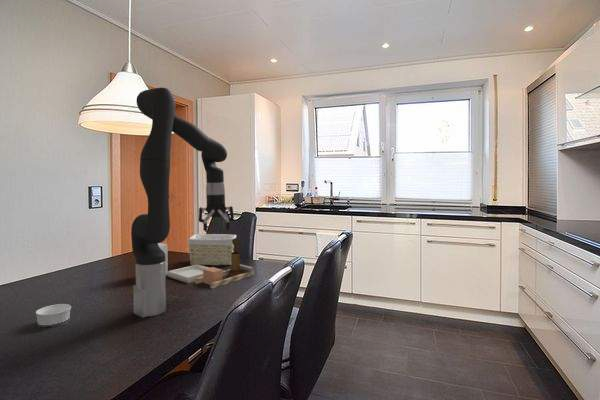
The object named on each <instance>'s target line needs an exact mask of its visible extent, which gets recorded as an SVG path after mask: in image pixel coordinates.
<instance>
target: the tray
mask: <svg viewBox="0 0 600 400" xmlns="http://www.w3.org/2000/svg"><path fill="white" fill-rule="evenodd" d="M207 268H210V267H208V266H206V265H188V266H185V267H180V268H177V269H171V270H168V275H167V277H168V278H170V279H171V278H172V279H174V280H176V281H177V280H178V281H180V282H184V283H186V284H190V283H193V282H194V283H195V279H196V278H200V277H203V269H207Z"/></svg>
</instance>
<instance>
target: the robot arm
mask: <svg viewBox="0 0 600 400" xmlns="http://www.w3.org/2000/svg"><path fill="white" fill-rule="evenodd" d="M175 99H176V98H175V96H174V93H173V92H172V91H171V90H170V89H168V88H166V87H155V88H149V89H146V90H142V91H141V92H139V93H138V95H137V97H136V106H137V108H138V110H139V111H140V112H141V113H142V115H144V116H145V117H147V118H149V119H151V120H152V122H151V130H150V133H149V135H148V137H147V139H146V141H145V143H144V145H143V147H142V150H141V153H140V159H139V160H140V161H139V177H140V181H141V184H142V186H143V189H144V191H145V194H146V198H147V213H142V214H140V215H138V216H137V217H135V218H134V220H133V221H132V224H131V229H130V231H131V232H130V233H131V234H130V235H131V236H130V237H131V248H132V254H133V257H134V259H135V284H133V287H132V290H133V297H132V299H133V314H134V315H136V316H138V317H141V318H142V319H143V318H146V317H147V318H148V317H154V316H155V317H156V316H158V315H159V316H160V315H161V314H163V313H165V312H166V310H167V292H166V291H167V288H166V287H167V286H166V285H167V283H166V276H167V275H166V266H165V253H164V252H163V251H162V250H161V249H160V247H159V246H158V243H161V244H162V243H163V242H164V241H166V239H167V238H168V236H169V234H170V229H171V217H170V204H169V203H170V202H169V199H170V195H169V194H170V174H171V173H170V172H171V147H172V135H173V133H174V134H175V135H176V136H178V137H179V138H181V139H182V140H183V141H185V142H186V143H187V144H188V145H189V146H191V147H192V148H194V150H196V151H198V152H201V154H200V155H201V160H202V163H203V167H204V170H205V174H206V175H205V176H206V177H205V178H206V179H205V180H206V186H205V194H206V196H205V198H206V206H205V207H201V206H200V207H199V208H198V222H199V223H202V224H203V231H204V232H205V233H208V221H209V219H210V218H221V217H222V219H224V220H225V232H228V231H229V230H230V229H231V228H230V227H231V226H230V222H232V221H234V220H235V219H234V207H233V206H232V205H231V206H226V191H225V190H226V189H225V181H224V180H225V178H224V174H225V173H224V170H223V169H222V168H220V167H218V166H217V164H216V163H222V162H224V161H225V160H226V159H228V158H227V157H228V152H227V149H226V147H225V146H224V145H223V144H221V143H220V142H218V141H217V140H215V139H213V138H211V137H209V136H208V135H207V133H205V132H204V131H203V130H201V129H200V127H198V126H196V125H195V124H193V123H191V122H190V121H187V120H186V119H183V118H181V117H180V116H178V115H176V100H175ZM205 211H206V212H207V215H206V216H205V218H203V214H204V212H205ZM226 211H228V213H229V216H230V217H228V216H227V215H226Z"/></svg>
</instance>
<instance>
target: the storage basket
mask: <svg viewBox="0 0 600 400" xmlns="http://www.w3.org/2000/svg"><path fill="white" fill-rule="evenodd" d="M234 238H237V234H231V233H229V234H227V233H226V234H225V233H224V234H223V233H221V234H220V233H218V234H217V233H212V234H211V233H210V234H209V233H198V234H197V233H195V234H192V235H191V236H190V237H189V238H188V240H187V244H188V248H189V260H190V266H193V265H201V266H231V253H232V252H234V251H233V248H234V245H233V243H232V240H233V239H234Z"/></svg>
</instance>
